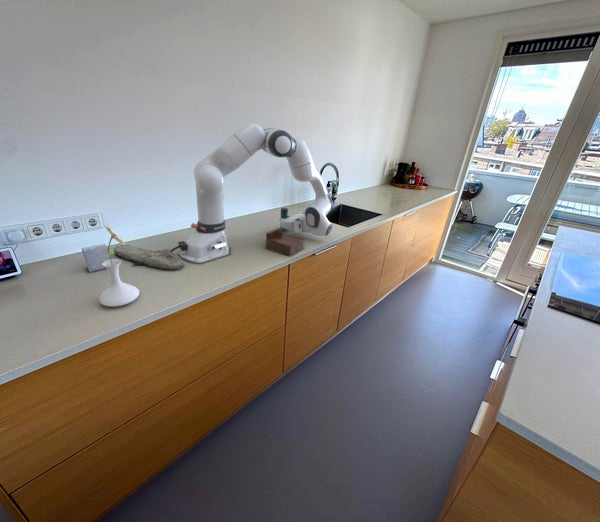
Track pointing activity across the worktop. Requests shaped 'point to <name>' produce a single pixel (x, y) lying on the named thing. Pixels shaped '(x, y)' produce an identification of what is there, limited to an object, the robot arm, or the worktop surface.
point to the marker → (284, 213)
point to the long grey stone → (150, 256)
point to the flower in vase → (116, 280)
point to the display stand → (283, 242)
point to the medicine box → (95, 256)
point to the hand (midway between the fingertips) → (282, 217)
